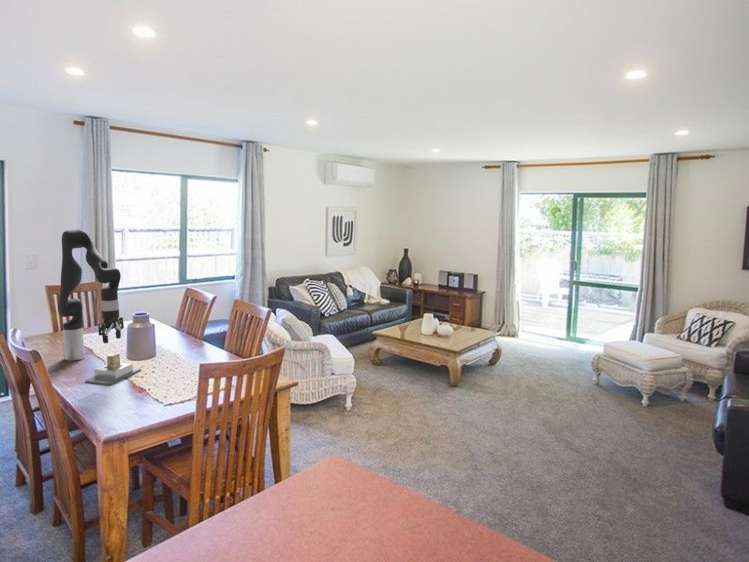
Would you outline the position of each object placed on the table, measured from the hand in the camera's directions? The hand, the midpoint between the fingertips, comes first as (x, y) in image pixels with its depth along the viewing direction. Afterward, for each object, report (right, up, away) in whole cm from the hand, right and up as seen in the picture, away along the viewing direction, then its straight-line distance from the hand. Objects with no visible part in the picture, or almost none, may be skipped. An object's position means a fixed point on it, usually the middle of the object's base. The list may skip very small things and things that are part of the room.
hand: (112, 340), depth 245 cm
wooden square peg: (0, -17, +3) cm, 17 cm away
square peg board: (-1, -18, +3) cm, 18 cm away
